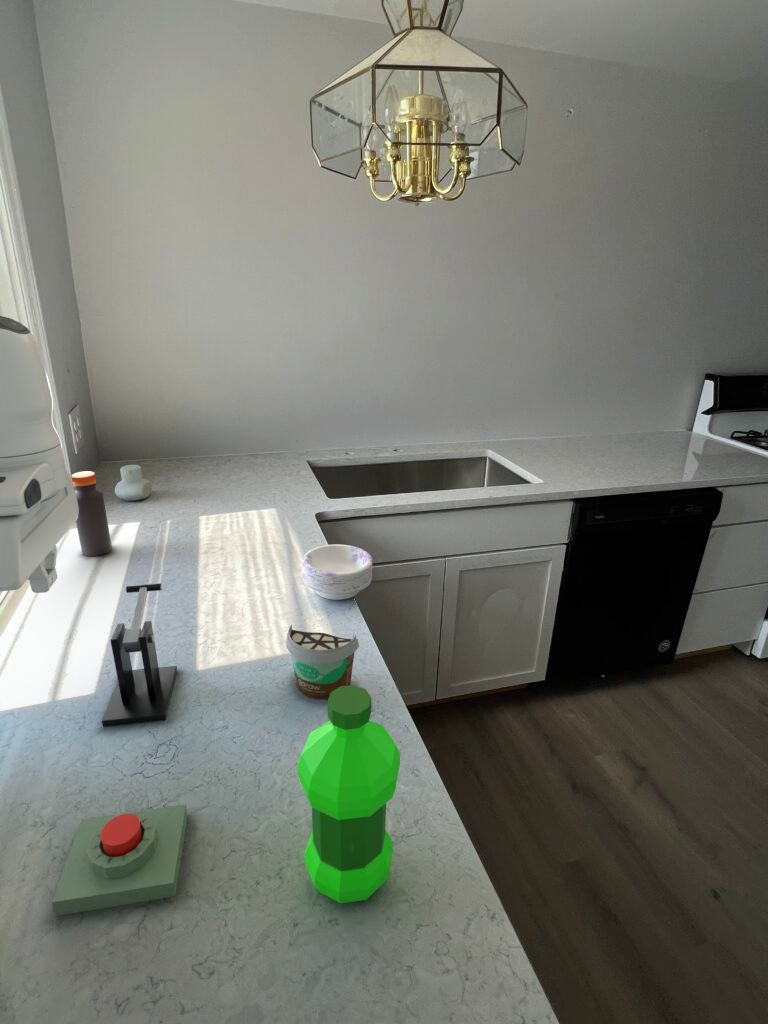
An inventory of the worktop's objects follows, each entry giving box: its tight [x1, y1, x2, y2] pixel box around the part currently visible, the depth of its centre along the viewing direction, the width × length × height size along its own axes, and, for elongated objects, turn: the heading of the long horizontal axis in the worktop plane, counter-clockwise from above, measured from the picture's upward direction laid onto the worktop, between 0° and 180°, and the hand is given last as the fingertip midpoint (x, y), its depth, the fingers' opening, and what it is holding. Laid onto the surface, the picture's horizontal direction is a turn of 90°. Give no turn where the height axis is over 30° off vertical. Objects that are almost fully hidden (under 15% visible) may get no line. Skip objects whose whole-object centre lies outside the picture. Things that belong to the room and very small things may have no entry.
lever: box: [122, 583, 163, 653], centre depth 90 cm, size 13×6×2 cm, turn 11°
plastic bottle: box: [296, 684, 401, 904], centre depth 59 cm, size 10×10×25 cm
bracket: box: [101, 620, 178, 728], centre depth 87 cm, size 12×9×13 cm
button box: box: [51, 804, 189, 917], centre depth 63 cm, size 12×10×4 cm
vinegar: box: [71, 470, 113, 557], centre depth 135 cm, size 7×7×20 cm
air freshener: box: [114, 464, 153, 502], centre depth 171 cm, size 11×8×10 cm
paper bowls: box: [302, 543, 373, 601], centre depth 122 cm, size 15×15×8 cm
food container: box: [285, 624, 360, 700], centre depth 90 cm, size 12×6×10 cm, turn 76°
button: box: [101, 814, 142, 857], centre depth 62 cm, size 4×4×2 cm
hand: (45, 586), depth 65 cm, fingers closed
